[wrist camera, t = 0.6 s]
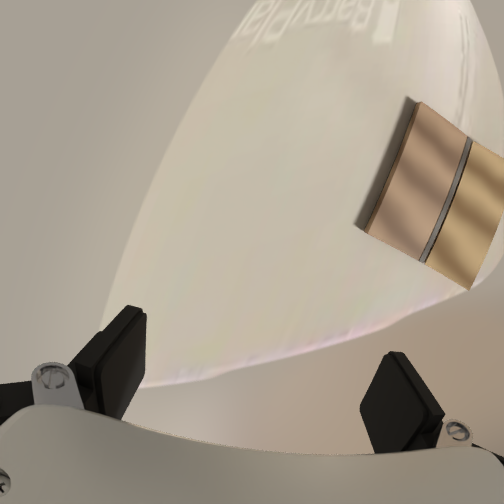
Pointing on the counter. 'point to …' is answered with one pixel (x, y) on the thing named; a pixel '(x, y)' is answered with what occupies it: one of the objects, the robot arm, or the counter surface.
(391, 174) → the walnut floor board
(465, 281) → the oak plank
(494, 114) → the counter surface
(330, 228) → the counter surface
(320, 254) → the counter surface
